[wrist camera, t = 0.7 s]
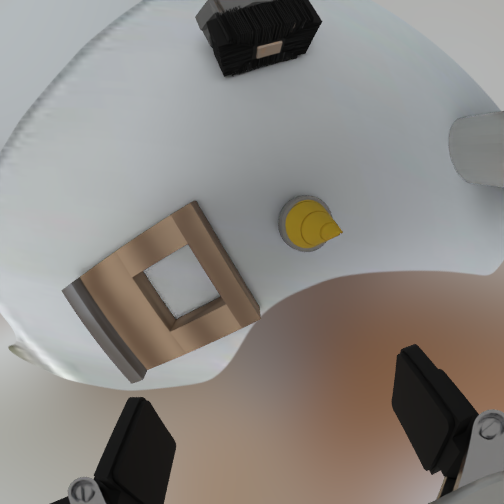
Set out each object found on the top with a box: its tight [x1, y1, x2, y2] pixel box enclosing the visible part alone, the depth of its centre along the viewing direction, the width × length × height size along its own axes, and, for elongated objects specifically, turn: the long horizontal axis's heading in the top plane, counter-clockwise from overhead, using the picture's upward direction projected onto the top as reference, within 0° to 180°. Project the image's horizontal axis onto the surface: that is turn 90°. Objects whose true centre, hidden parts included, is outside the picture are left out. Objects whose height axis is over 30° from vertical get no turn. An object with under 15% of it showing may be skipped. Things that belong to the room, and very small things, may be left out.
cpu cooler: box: [195, 0, 322, 77], centre depth 20 cm, size 10×6×10 cm, turn 111°
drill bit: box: [278, 196, 343, 252], centre depth 25 cm, size 5×5×10 cm
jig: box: [62, 200, 261, 383], centre depth 29 cm, size 18×14×5 cm
